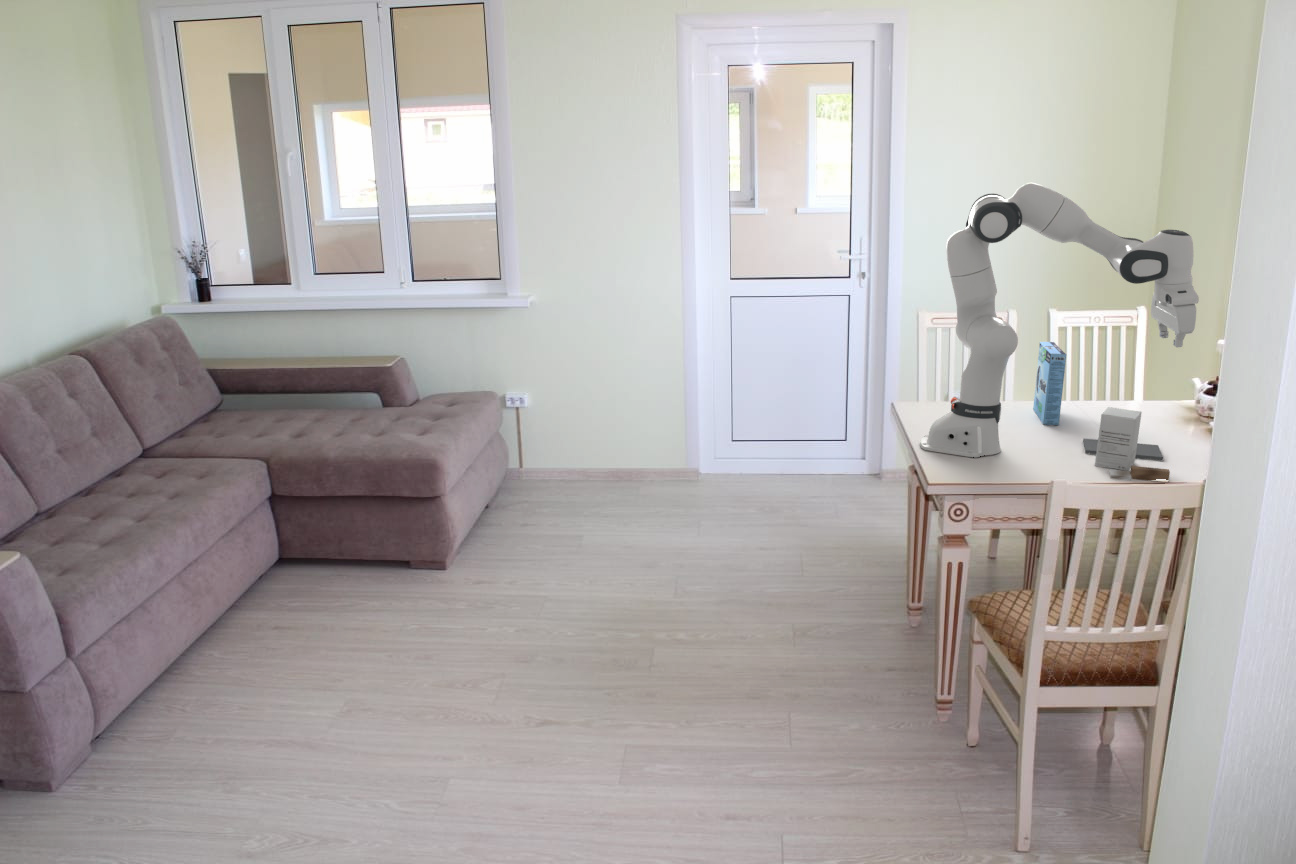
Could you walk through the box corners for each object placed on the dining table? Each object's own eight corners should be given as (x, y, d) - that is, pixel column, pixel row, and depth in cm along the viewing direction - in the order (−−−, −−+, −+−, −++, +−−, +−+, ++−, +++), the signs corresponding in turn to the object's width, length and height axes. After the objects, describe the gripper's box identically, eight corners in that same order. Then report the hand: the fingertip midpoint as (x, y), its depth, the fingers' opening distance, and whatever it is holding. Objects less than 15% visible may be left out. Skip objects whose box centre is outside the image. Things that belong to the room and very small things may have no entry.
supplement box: (1100, 457, 280) (1107, 406, 276) (1135, 463, 275) (1142, 411, 271) (1093, 465, 273) (1100, 413, 269) (1128, 471, 268) (1136, 418, 264)
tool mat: (1085, 453, 284) (1085, 449, 283) (1082, 441, 294) (1083, 438, 294) (1162, 460, 277) (1163, 457, 277) (1157, 448, 288) (1158, 445, 288)
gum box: (1058, 425, 311) (1067, 354, 304) (1041, 424, 312) (1050, 353, 305) (1047, 409, 329) (1055, 341, 322) (1031, 408, 330) (1039, 341, 323)
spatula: (1110, 478, 263) (1111, 467, 262) (1108, 472, 268) (1110, 462, 267) (1168, 484, 259) (1170, 473, 258) (1166, 478, 263) (1168, 467, 262)
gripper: (1145, 284, 272) (1143, 333, 276) (1175, 301, 253) (1173, 353, 257) (1169, 282, 271) (1167, 331, 275) (1201, 298, 252) (1199, 350, 256)
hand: (1170, 342), depth 266 cm, fingers open, 8 cm apart
